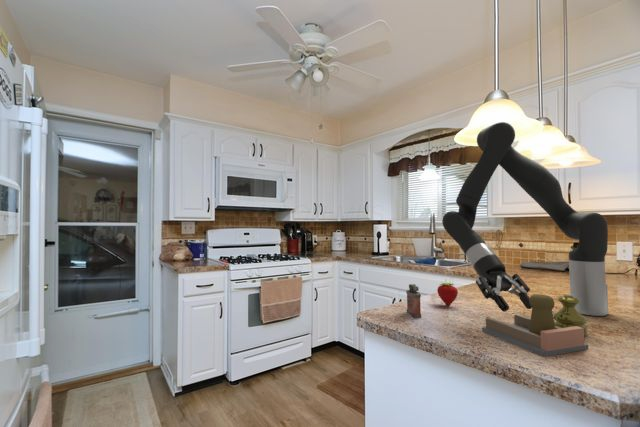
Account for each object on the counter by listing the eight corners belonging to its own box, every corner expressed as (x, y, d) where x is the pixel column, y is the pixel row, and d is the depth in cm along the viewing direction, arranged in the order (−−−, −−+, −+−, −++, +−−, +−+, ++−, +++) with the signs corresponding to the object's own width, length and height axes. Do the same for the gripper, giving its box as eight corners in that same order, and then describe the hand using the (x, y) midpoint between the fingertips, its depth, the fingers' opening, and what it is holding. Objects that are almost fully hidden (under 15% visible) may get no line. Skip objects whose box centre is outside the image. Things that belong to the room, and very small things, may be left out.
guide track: (521, 326, 93) (520, 308, 93) (588, 348, 75) (587, 327, 76) (482, 331, 89) (481, 313, 89) (543, 356, 72) (542, 333, 72)
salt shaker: (582, 329, 89) (580, 293, 89) (591, 338, 82) (590, 299, 83) (550, 326, 92) (549, 291, 92) (556, 334, 85) (555, 297, 86)
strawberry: (451, 309, 111) (451, 280, 112) (433, 305, 118) (433, 277, 118) (462, 306, 115) (461, 279, 115) (443, 302, 121) (443, 276, 121)
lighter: (404, 311, 109) (404, 282, 110) (414, 311, 110) (413, 282, 110) (413, 318, 101) (412, 287, 102) (423, 318, 102) (422, 286, 102)
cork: (563, 344, 76) (561, 298, 76) (535, 343, 77) (533, 297, 77) (550, 336, 81) (548, 292, 82) (524, 334, 83) (522, 292, 83)
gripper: (471, 254, 92) (506, 303, 81) (510, 252, 96) (548, 299, 85) (459, 270, 97) (490, 318, 86) (496, 268, 101) (530, 313, 90)
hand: (519, 308), depth 85 cm, fingers open, 8 cm apart
